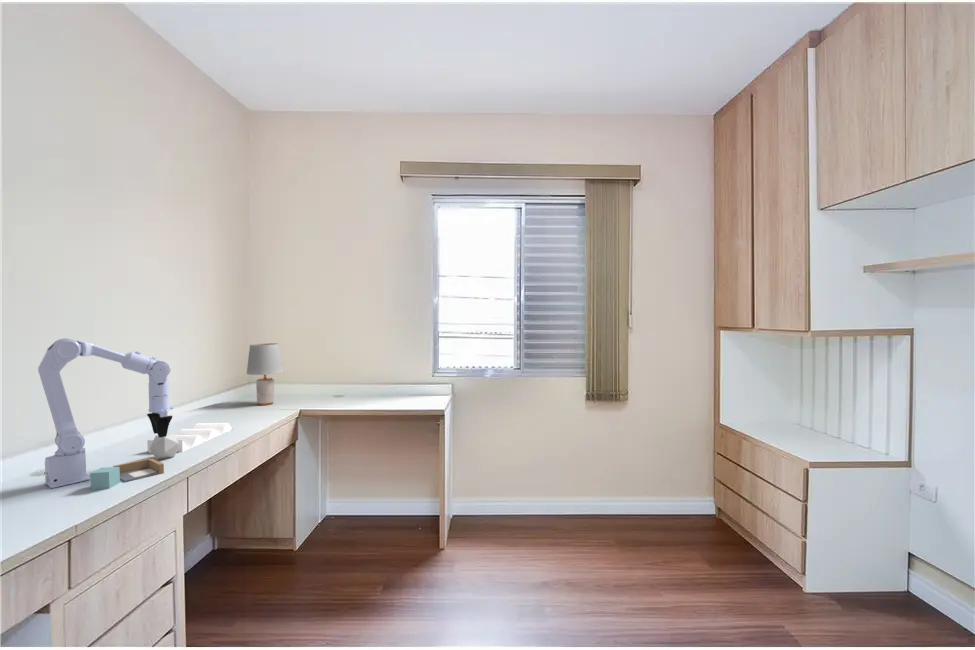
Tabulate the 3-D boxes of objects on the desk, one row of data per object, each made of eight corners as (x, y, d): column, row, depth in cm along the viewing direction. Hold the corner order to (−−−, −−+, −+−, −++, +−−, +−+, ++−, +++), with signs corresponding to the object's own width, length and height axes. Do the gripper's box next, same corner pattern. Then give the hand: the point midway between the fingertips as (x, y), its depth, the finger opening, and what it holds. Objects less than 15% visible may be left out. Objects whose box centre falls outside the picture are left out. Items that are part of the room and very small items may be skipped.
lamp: (290, 401, 284) (289, 343, 283) (271, 407, 266) (269, 345, 265) (261, 400, 288) (259, 343, 287) (240, 406, 269) (238, 345, 268)
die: (181, 454, 181) (163, 433, 180) (188, 445, 176) (170, 424, 175) (158, 468, 174) (140, 447, 173) (166, 460, 169) (147, 438, 168)
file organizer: (233, 430, 217) (232, 419, 216) (182, 453, 182) (182, 439, 181) (203, 431, 217) (203, 419, 217) (147, 454, 182) (147, 440, 182)
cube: (109, 488, 144) (108, 472, 144) (91, 489, 143) (90, 473, 143) (120, 482, 149) (119, 466, 149) (102, 483, 148) (101, 467, 148)
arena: (124, 482, 149) (124, 472, 149) (113, 475, 156) (113, 466, 156) (163, 472, 157) (163, 463, 157) (151, 466, 164) (151, 457, 164)
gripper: (177, 396, 165) (178, 436, 165) (167, 391, 175) (168, 429, 176) (152, 399, 160) (153, 440, 160) (144, 394, 170) (145, 432, 171)
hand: (160, 434), depth 168 cm, fingers open, 7 cm apart
